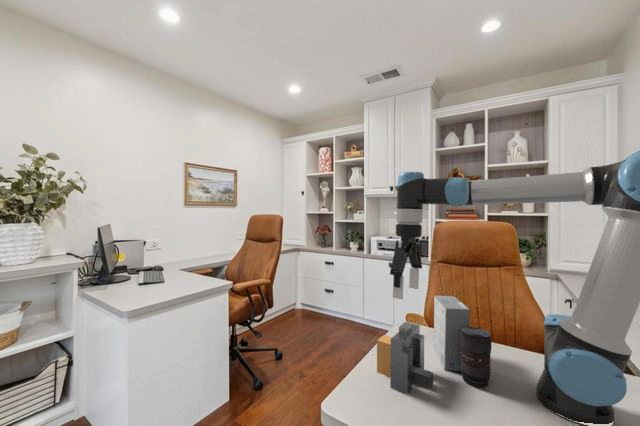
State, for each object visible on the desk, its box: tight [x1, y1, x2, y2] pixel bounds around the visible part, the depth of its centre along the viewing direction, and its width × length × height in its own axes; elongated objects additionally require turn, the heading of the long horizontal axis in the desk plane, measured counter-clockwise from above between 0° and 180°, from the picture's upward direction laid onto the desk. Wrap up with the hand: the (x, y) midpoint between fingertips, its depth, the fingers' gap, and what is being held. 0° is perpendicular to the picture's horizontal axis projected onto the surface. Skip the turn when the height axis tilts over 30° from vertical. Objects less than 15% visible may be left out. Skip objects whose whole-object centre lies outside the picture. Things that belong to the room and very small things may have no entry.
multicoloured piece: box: [376, 334, 434, 391], centre depth 86 cm, size 16×5×10 cm, turn 53°
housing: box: [389, 321, 425, 395], centre depth 85 cm, size 5×15×16 cm, turn 143°
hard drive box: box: [433, 295, 471, 372], centre depth 97 cm, size 16×8×20 cm, turn 171°
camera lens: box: [460, 326, 492, 389], centre depth 84 cm, size 8×8×15 cm
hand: (406, 293), depth 86 cm, fingers open, 13 cm apart
